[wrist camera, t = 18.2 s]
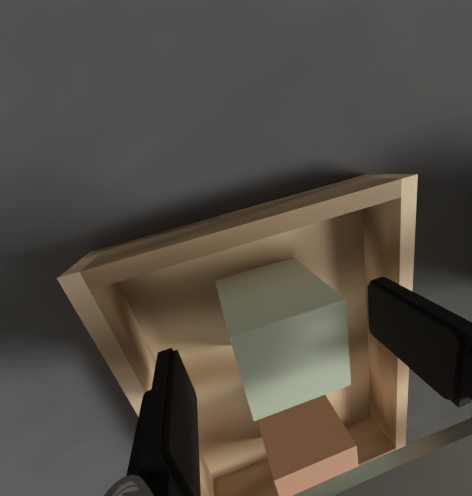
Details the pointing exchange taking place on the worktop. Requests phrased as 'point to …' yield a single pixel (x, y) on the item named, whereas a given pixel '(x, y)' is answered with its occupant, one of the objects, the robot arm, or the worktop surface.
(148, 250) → the oak tray
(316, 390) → the sage block
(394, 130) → the worktop surface
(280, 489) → the terracotta block
